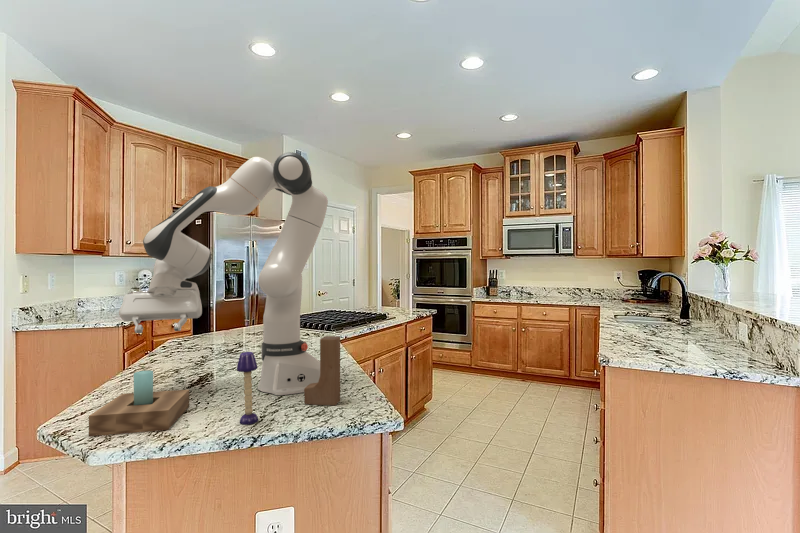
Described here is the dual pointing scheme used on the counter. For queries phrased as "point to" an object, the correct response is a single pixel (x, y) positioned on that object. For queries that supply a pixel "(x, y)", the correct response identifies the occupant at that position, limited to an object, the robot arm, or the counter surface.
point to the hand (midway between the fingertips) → (157, 331)
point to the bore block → (139, 413)
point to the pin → (143, 387)
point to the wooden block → (326, 375)
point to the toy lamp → (247, 385)
